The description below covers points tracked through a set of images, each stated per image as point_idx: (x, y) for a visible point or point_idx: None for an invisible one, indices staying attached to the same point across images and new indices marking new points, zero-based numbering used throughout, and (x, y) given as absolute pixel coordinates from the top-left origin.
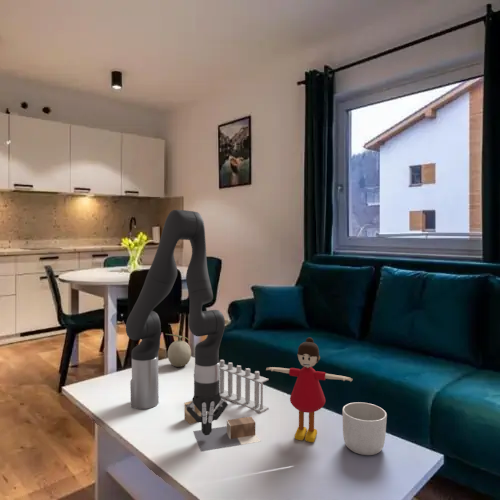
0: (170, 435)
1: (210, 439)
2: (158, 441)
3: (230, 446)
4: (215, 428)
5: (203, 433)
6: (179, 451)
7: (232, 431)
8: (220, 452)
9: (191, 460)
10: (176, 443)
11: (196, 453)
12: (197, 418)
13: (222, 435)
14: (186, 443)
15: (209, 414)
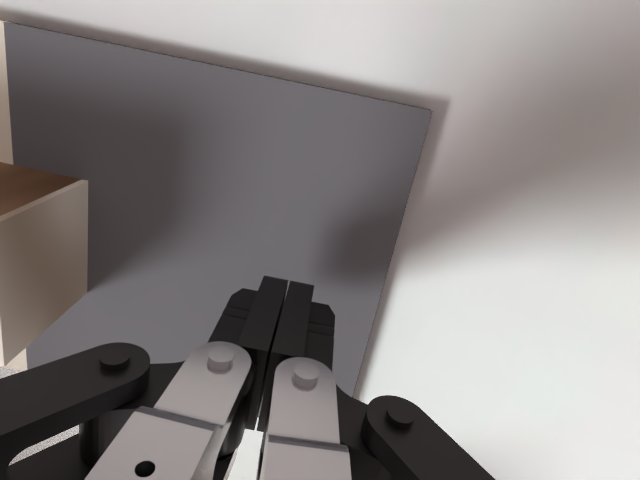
0: (513, 464)
1: (261, 259)
2: (636, 436)
3: (123, 46)
4: None
5: (323, 305)
6: (585, 228)
7: (14, 194)
8: (254, 12)
9: (582, 17)
10: (535, 350)
11: (472, 119)
12: (427, 453)
13: (137, 268)
14: (465, 313)
15: (207, 436)
